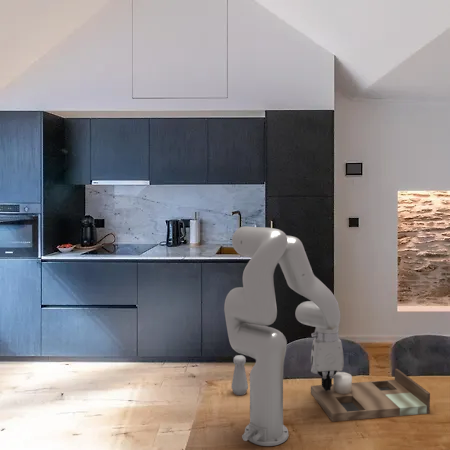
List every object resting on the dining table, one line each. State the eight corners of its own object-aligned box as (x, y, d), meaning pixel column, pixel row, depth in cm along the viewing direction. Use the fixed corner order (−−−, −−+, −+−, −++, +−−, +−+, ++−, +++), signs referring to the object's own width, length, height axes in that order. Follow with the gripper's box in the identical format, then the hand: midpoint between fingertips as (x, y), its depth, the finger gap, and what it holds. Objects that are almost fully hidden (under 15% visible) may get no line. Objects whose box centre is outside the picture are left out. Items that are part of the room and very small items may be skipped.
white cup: (347, 395, 152) (348, 380, 152) (330, 390, 156) (330, 376, 155) (354, 388, 157) (354, 374, 157) (337, 384, 161) (337, 370, 160)
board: (332, 421, 140) (332, 400, 140) (310, 392, 160) (310, 374, 159) (429, 413, 145) (430, 393, 144) (397, 386, 165) (397, 368, 164)
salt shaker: (248, 396, 158) (248, 359, 157) (231, 396, 158) (231, 359, 157) (247, 389, 163) (247, 353, 162) (231, 389, 164) (231, 353, 163)
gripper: (309, 340, 149) (309, 395, 151) (352, 337, 151) (352, 391, 153) (301, 333, 157) (301, 385, 158) (343, 331, 159) (343, 382, 160)
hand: (326, 388), depth 155 cm, fingers closed
